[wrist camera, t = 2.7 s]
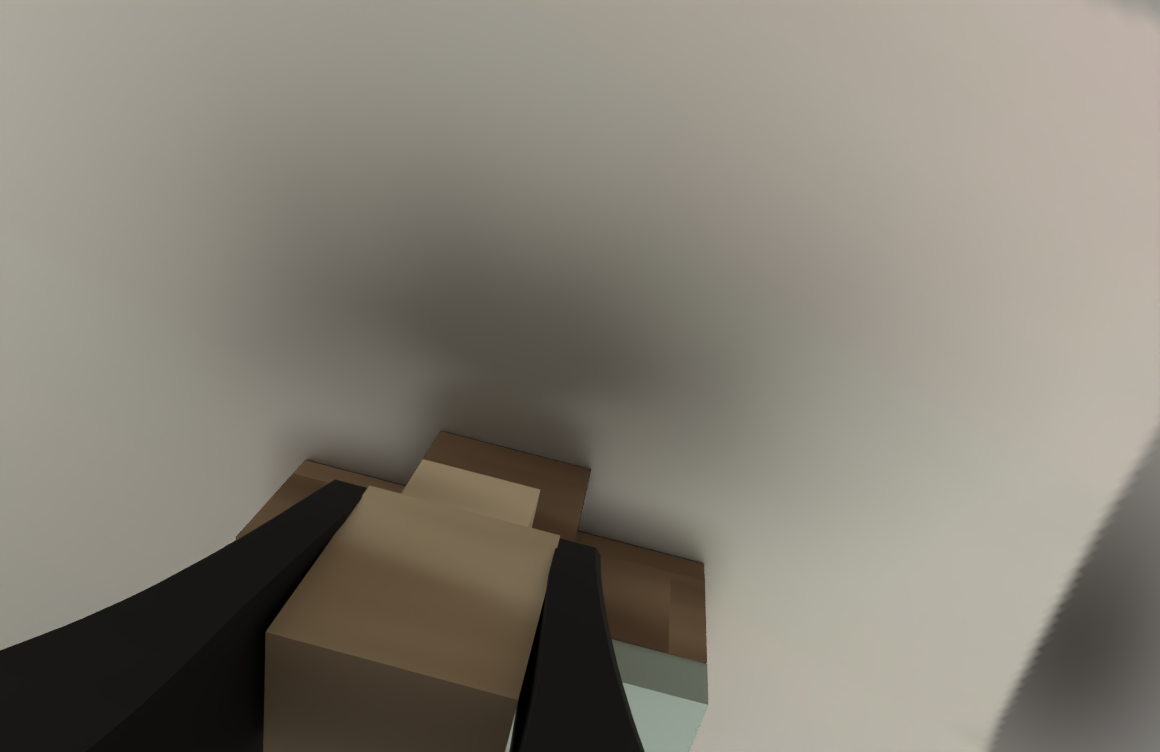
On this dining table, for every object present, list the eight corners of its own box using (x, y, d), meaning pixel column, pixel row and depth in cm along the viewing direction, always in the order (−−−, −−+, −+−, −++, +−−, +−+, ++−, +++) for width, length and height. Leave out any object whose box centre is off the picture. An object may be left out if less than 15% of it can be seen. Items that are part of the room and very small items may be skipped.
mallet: (509, 735, 14) (450, 967, 11) (366, 697, 15) (259, 914, 11) (570, 497, 12) (518, 699, 8) (393, 451, 12) (265, 632, 8)
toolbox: (602, 834, 22) (585, 988, 19) (291, 748, 22) (216, 884, 19) (726, 504, 16) (736, 635, 13) (307, 396, 17) (204, 494, 13)
